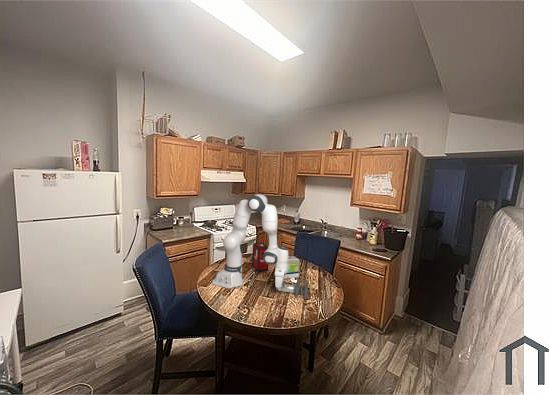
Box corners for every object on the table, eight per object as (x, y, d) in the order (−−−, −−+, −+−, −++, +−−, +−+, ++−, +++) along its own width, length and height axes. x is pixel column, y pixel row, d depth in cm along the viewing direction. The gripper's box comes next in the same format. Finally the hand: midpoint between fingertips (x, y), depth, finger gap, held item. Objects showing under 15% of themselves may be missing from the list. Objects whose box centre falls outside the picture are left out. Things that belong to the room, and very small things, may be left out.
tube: (275, 291, 157) (276, 285, 156) (277, 288, 162) (277, 281, 161) (301, 295, 154) (301, 288, 153) (301, 291, 159) (302, 285, 158)
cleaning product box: (268, 270, 190) (269, 248, 188) (258, 272, 186) (259, 249, 184) (261, 263, 205) (262, 242, 203) (251, 264, 201) (253, 243, 199)
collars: (295, 296, 152) (296, 284, 151) (296, 289, 162) (297, 277, 161) (310, 299, 150) (311, 286, 149) (311, 291, 160) (312, 279, 159)
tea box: (282, 279, 176) (283, 261, 174) (277, 274, 185) (278, 257, 183) (298, 277, 181) (300, 259, 180) (293, 272, 191) (294, 255, 189)
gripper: (279, 262, 168) (278, 280, 170) (274, 274, 148) (273, 294, 150) (287, 264, 167) (286, 281, 168) (283, 275, 147) (282, 295, 148)
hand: (280, 287), depth 159 cm, fingers closed on tube, 5 cm apart
